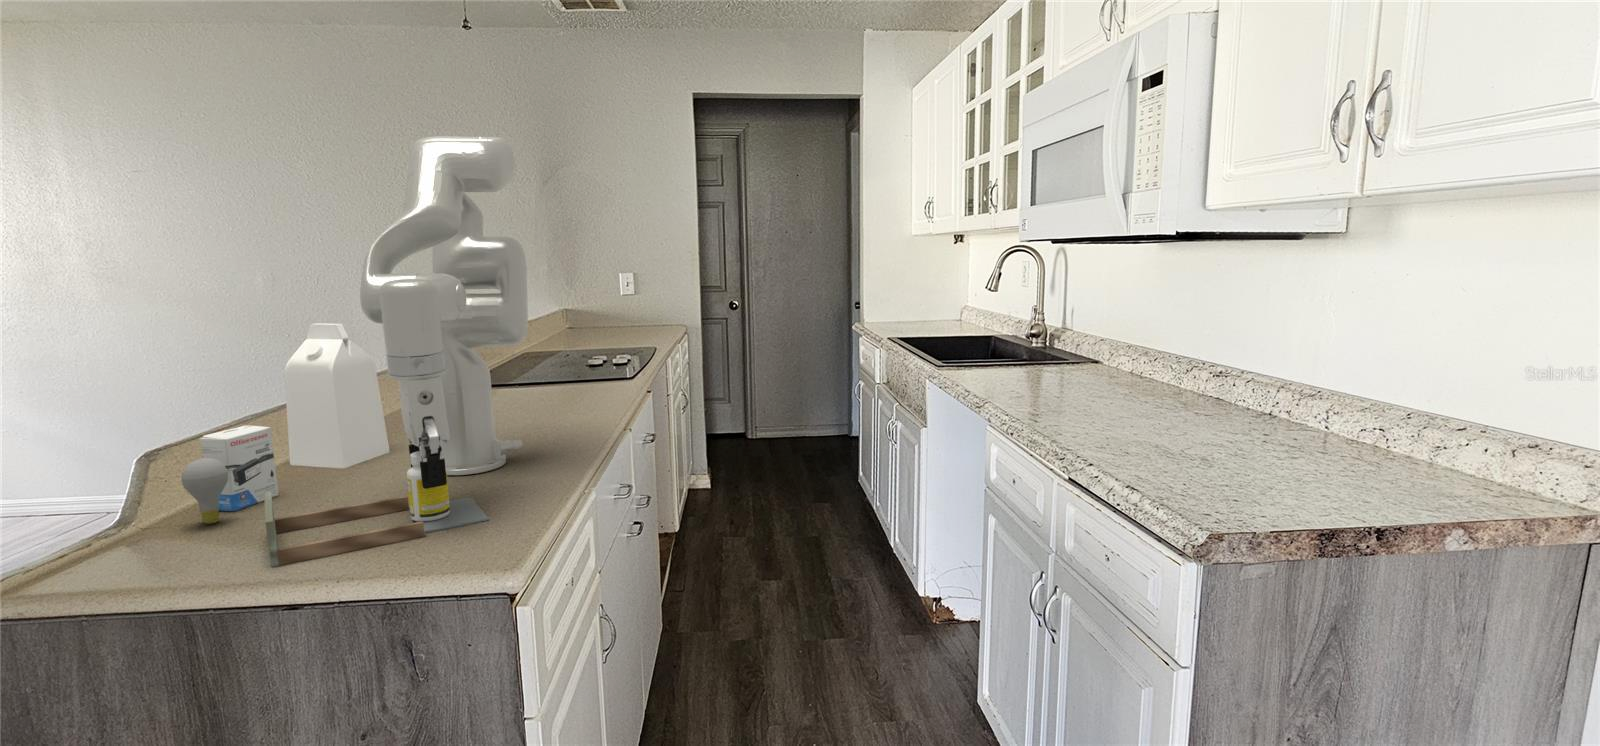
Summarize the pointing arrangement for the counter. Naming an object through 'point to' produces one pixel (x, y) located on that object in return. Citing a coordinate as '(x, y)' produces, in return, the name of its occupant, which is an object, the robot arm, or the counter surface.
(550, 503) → the counter surface
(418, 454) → the supplement bottle
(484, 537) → the counter surface
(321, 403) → the milk
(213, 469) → the light bulb
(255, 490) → the ink box
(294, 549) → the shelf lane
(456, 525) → the mat
